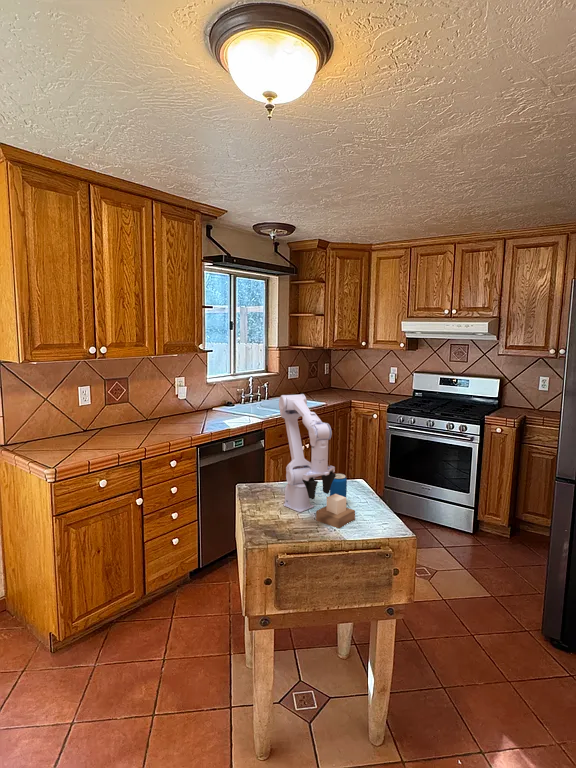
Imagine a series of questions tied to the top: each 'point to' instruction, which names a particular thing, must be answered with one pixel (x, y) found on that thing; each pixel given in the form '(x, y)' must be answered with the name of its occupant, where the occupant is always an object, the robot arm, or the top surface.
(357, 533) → the top surface
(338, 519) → the walnut box
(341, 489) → the beverage can
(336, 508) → the cube
